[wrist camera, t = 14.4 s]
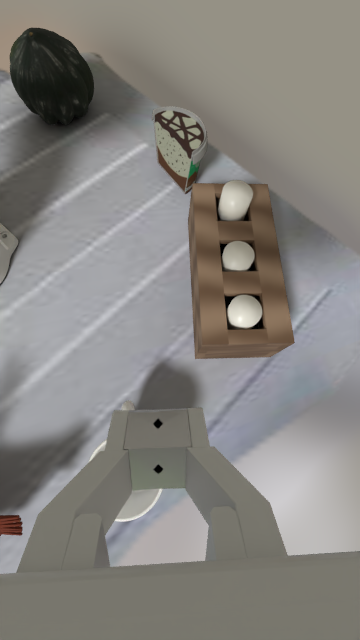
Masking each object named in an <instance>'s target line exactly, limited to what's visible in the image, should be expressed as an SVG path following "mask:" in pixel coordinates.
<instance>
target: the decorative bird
mask: <svg viewBox="0 0 360 640" xmlns="http://www.w3.org/2000/svg"><path fill="white" fill-rule="evenodd" d="M20 520H21V518H19V515H0V536H1V535H2V534H6V535H22V527H21V525H22V522H20Z"/></svg>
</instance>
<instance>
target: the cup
mask: <svg viewBox="0 0 360 640" xmlns="http://www.w3.org/2000/svg"><path fill="white" fill-rule="evenodd" d="M122 410H135V408H134V404H133V403H132V402H131V401H126V402H124V404H123V406H122ZM106 442H107V439H106V440H105V441H104V442H102V443H101V444H100V445H99V446H98V447H97V449H96V450H95V451H94V453H93V454H92V456H91V458H90V460H89V462H90V461H91V460H92V459H93V458H94V457H95V456H96V455H97V454H98V453H99V452H100V451H105V446H106ZM161 492H162V489H148V490H135V491H132V494H131V495H130V497H129V498H128V500H127V501H126V503H125V505H124V506H123V508H122V509H121V511H120V513H119V514H118V516H117V517H116V519H115V520H114V521H130V520H134V519H136V518H139V517H141V516H142V515H144V514H145V513H147V512H148V511H149V510H150V509H151V508H152V507H153V506H154V504H155V503H156V502H157V500H158V498H159V496H160V494H161Z"/></svg>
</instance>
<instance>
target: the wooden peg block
mask: <svg viewBox="0 0 360 640" xmlns="http://www.w3.org/2000/svg"><path fill="white" fill-rule="evenodd" d="M224 185H225V184H206V183H192V192H191V200H190V209H189V217H188V229H189V249H190V268H191V287H192V306H193V326H194V345H195V359H207V358H250V357H271V356H273V355H274V354H276V353H278V352H280V351H281V350H283V349H285V348H286V347H288V346H290V345H292V344H293V343H295V342H294V336H293V330H292V325H291V319H290V313H289V307H288V301H287V295H286V290H285V284H284V278H283V272H282V266H281V260H280V254H279V249H278V243H277V237H276V231H275V225H274V219H273V214H272V208H271V202H270V196H269V190H268V185H267V184H248V185H249V186H250V187H251V188H252V191H253V197H252V200H251V202H250V205H249V207H248V210H247V212H246V215H245V217H244V220H243V221H218V219H217V210H218V206H219V202H220V198H221V194H222V190H223V187H224ZM233 241H242V242H245V243H247V244H248V245H250V246H251V247H252V249H253V251H254V255H255V257H254V260H253V262H252V264H251V271H245V272H222V265H221V254H220V244H229V243H231V242H233ZM239 295H249V296H255V299H256V300H257V301H258V302H259V303H260V305H261V307H262V316H261V318H260V320H259V321H258V324H259V329H248V330H228V329H227V318H226V308H225V297H224V296H239Z"/></svg>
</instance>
